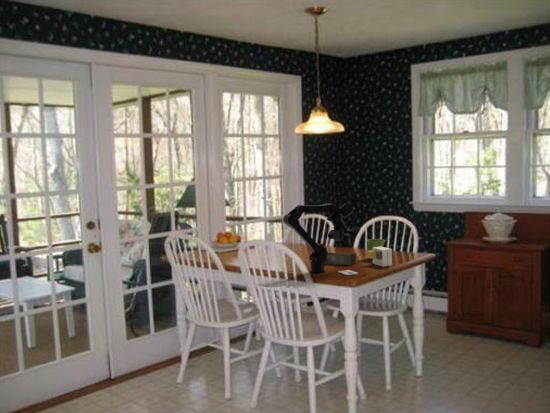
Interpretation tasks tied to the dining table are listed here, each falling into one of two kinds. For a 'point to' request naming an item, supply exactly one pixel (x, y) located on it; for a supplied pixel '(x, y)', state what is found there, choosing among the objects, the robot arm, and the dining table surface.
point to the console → (383, 256)
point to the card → (348, 272)
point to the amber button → (371, 254)
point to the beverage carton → (340, 258)
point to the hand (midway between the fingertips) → (349, 244)
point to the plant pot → (375, 243)
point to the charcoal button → (379, 255)
